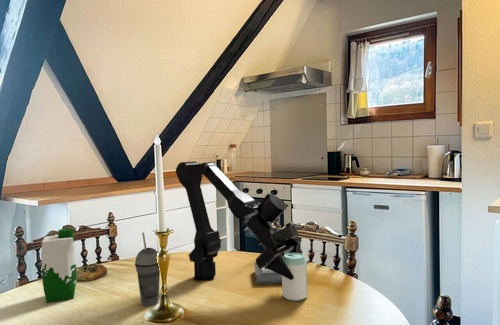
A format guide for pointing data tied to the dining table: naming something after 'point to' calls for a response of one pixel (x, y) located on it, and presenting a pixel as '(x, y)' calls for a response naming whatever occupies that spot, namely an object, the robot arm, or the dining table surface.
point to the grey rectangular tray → (266, 276)
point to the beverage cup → (148, 275)
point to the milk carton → (59, 266)
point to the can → (295, 277)
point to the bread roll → (91, 272)
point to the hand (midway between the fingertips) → (298, 274)
